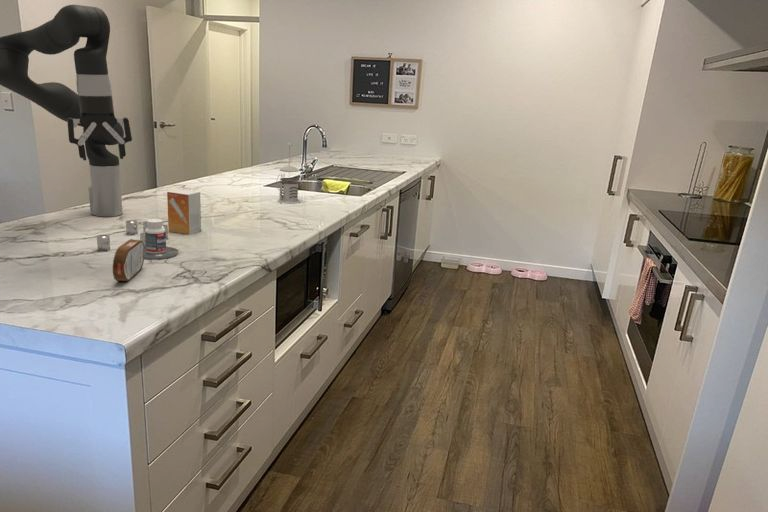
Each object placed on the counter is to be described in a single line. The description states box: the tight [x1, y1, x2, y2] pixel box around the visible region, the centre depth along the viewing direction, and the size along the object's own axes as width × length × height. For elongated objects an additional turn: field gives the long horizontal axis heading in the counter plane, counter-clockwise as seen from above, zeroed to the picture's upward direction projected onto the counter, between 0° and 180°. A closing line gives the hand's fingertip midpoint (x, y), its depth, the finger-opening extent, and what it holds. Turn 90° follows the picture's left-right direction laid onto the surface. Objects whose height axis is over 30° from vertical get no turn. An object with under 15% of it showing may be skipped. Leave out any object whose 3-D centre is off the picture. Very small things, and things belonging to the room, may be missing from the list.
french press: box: [276, 142, 301, 205], centre depth 233 cm, size 10×12×25 cm
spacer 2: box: [139, 232, 146, 248], centre depth 159 cm, size 3×3×4 cm
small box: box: [166, 188, 202, 235], centre depth 178 cm, size 8×6×13 cm
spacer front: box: [162, 224, 169, 240], centre depth 169 cm, size 3×3×4 cm
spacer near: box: [96, 234, 111, 252], centre depth 154 cm, size 3×3×4 cm
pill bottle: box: [145, 218, 167, 254], centre depth 153 cm, size 5×5×9 cm
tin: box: [112, 238, 145, 282], centre depth 135 cm, size 15×3×8 cm, turn 5°
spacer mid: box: [142, 221, 148, 233], centre depth 171 cm, size 3×3×4 cm
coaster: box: [144, 246, 179, 260], centre depth 154 cm, size 11×11×1 cm
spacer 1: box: [125, 219, 139, 236], centre depth 172 cm, size 3×3×4 cm
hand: (103, 159), depth 143 cm, fingers open, 8 cm apart
